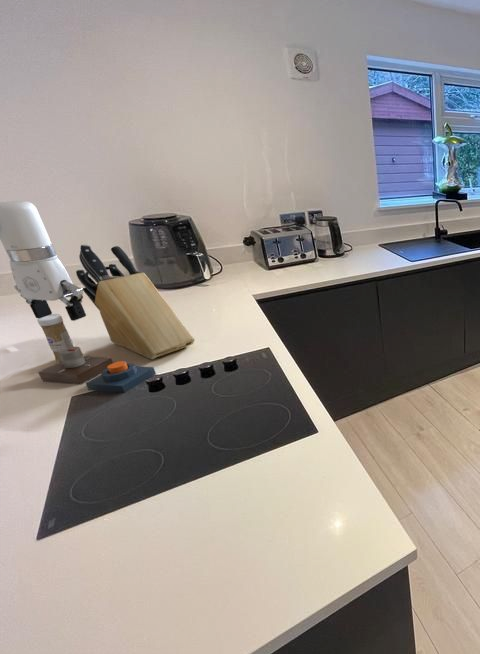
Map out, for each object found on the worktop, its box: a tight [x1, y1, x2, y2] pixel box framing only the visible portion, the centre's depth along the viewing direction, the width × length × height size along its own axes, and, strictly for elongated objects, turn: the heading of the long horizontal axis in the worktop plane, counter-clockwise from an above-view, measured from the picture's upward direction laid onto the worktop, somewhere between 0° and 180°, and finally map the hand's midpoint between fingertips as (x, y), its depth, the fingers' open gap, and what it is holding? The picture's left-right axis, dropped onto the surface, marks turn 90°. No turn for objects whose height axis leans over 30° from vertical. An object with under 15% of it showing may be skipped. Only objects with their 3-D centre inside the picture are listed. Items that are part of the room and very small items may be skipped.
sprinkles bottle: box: [36, 313, 75, 362], centre depth 114 cm, size 5×5×13 cm
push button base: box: [85, 362, 157, 394], centre depth 106 cm, size 10×9×4 cm
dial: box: [58, 346, 86, 368], centre depth 108 cm, size 4×4×5 cm
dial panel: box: [37, 355, 114, 385], centre depth 109 cm, size 11×9×3 cm
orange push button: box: [107, 360, 128, 374], centre depth 105 cm, size 4×4×2 cm
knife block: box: [75, 244, 195, 360], centre depth 121 cm, size 11×35×31 cm, turn 64°
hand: (61, 317), depth 103 cm, fingers open, 9 cm apart
